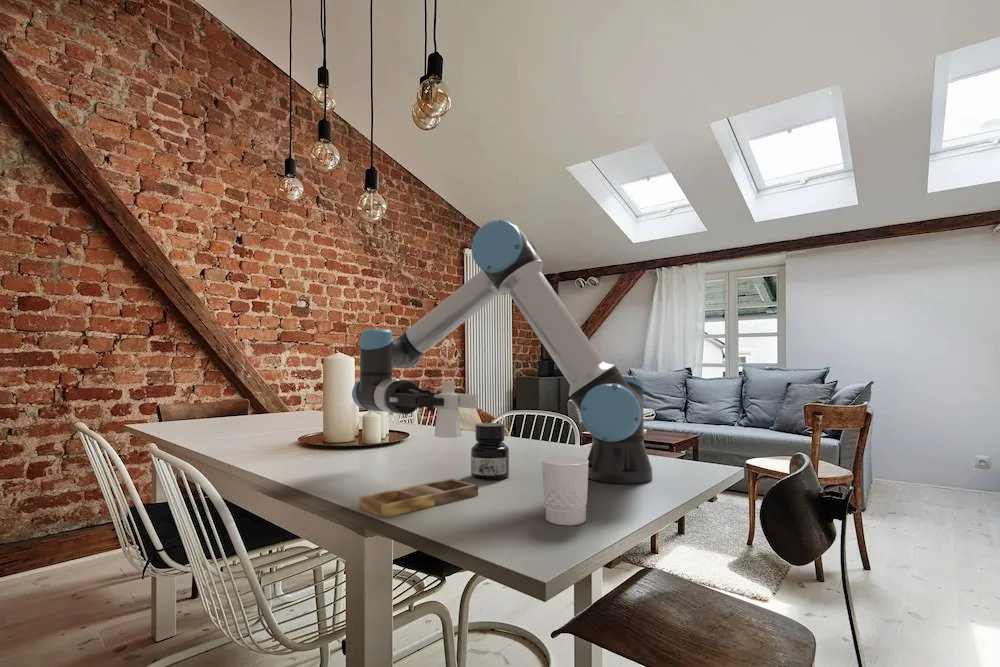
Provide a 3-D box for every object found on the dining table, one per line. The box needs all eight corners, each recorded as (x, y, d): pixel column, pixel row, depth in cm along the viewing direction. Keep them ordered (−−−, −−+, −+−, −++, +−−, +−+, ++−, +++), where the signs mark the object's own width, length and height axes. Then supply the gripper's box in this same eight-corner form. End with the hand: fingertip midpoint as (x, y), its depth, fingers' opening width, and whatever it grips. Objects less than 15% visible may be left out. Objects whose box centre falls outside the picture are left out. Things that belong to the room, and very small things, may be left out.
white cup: (532, 520, 89) (532, 460, 89) (559, 510, 95) (559, 454, 95) (572, 530, 84) (572, 466, 84) (597, 519, 90) (597, 459, 90)
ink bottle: (464, 479, 119) (464, 426, 120) (474, 471, 128) (474, 421, 128) (506, 482, 117) (506, 427, 118) (514, 473, 126) (514, 422, 126)
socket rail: (451, 488, 111) (451, 478, 111) (478, 495, 105) (478, 485, 105) (359, 507, 96) (359, 496, 97) (384, 517, 90) (384, 506, 90)
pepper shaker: (449, 433, 110) (449, 380, 110) (467, 435, 106) (467, 380, 107) (428, 435, 106) (429, 381, 106) (446, 438, 102) (446, 381, 103)
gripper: (428, 410, 125) (497, 418, 108) (364, 416, 113) (430, 425, 96) (429, 378, 125) (497, 381, 109) (364, 381, 114) (430, 384, 97)
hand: (465, 402), depth 102 cm, fingers closed on pepper shaker, 4 cm apart
